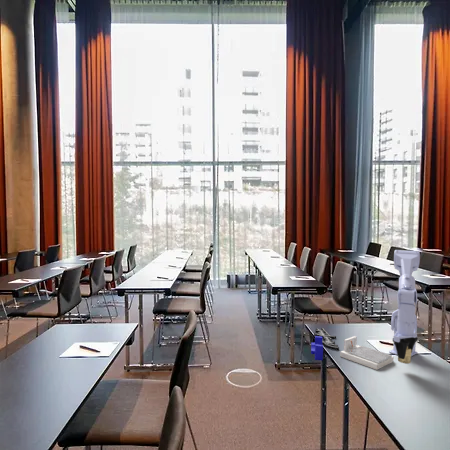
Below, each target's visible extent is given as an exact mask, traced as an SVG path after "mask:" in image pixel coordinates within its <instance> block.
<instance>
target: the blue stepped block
mask: <svg viewBox="0 0 450 450" xmlns="http://www.w3.org/2000/svg"><path fill="white" fill-rule="evenodd" d="M322 341H323V338H322V337H321V336H314V342H311V343H310V345H311V346H310V353H311V355H314V361H324V360H323V359H324V358H323V357H324V345H322Z"/></svg>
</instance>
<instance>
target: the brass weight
mask: <svg viewBox="0 0 450 450" xmlns="http://www.w3.org/2000/svg"><path fill="white" fill-rule="evenodd" d="M397 361H398V362H399V363H402V364H407V365H408V364H411V362H412V356H411V348H409V347H407V350H406V355H405V358H404V359H401V358H398V357H397Z"/></svg>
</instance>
